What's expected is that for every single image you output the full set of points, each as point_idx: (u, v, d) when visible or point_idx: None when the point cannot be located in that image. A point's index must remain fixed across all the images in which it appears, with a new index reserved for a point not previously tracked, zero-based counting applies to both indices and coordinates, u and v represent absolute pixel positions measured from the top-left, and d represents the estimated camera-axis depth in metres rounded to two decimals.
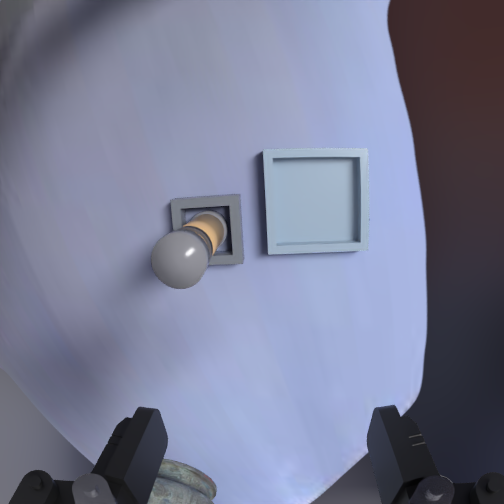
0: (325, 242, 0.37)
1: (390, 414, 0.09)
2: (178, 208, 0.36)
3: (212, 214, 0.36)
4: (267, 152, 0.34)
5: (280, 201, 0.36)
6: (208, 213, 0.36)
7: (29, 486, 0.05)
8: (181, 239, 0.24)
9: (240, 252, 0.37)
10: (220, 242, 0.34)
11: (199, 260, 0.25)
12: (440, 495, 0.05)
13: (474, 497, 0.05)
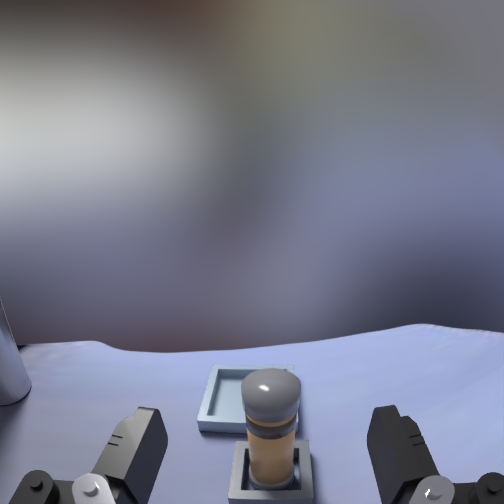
0: None
1: (390, 414, 0.09)
2: (239, 491, 0.23)
3: None
4: (200, 417, 0.34)
5: None
6: (250, 465, 0.27)
7: (29, 486, 0.05)
8: (247, 381, 0.23)
9: (296, 441, 0.29)
10: None
11: (269, 371, 0.25)
12: (440, 495, 0.05)
13: (474, 497, 0.05)
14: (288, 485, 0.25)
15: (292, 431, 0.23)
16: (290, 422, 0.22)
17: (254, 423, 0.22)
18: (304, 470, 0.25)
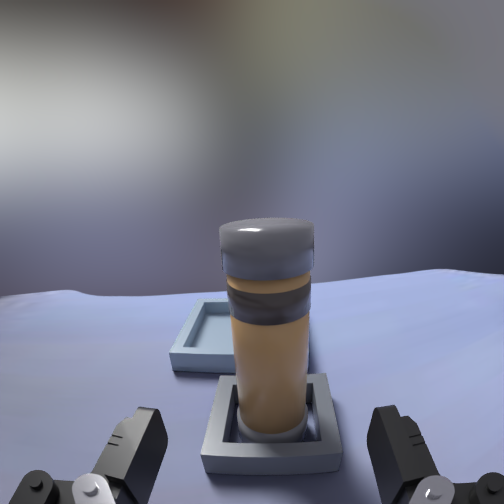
0: None
1: (390, 414, 0.09)
2: (220, 444, 0.16)
3: None
4: (174, 349, 0.26)
5: None
6: None
7: (29, 486, 0.05)
8: (230, 224, 0.16)
9: (308, 375, 0.22)
10: None
11: (265, 219, 0.17)
12: (440, 495, 0.05)
13: (474, 497, 0.05)
14: (299, 438, 0.17)
15: (305, 317, 0.15)
16: (301, 291, 0.15)
17: (241, 292, 0.15)
18: (323, 413, 0.18)
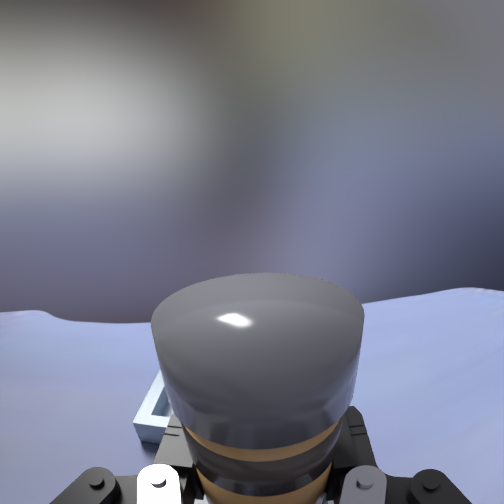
0: None
1: None
2: None
3: None
4: (140, 418, 0.18)
5: None
6: None
7: (87, 482, 0.06)
8: (182, 298, 0.07)
9: None
10: None
11: (257, 278, 0.09)
12: (369, 485, 0.06)
13: (412, 498, 0.05)
14: None
15: (328, 466, 0.07)
16: (327, 442, 0.06)
17: (202, 447, 0.06)
18: None
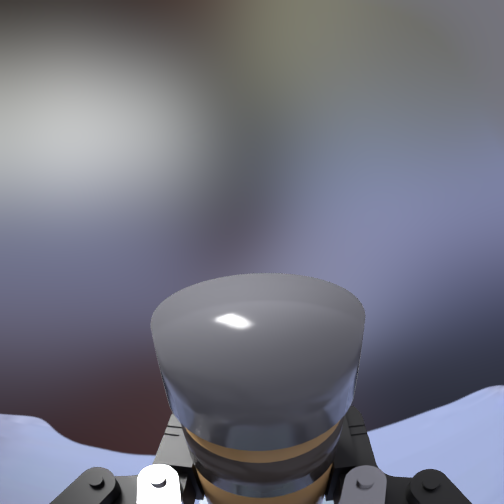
0: None
1: None
2: None
3: None
4: None
5: None
6: None
7: (87, 482, 0.06)
8: (181, 298, 0.07)
9: None
10: None
11: (257, 278, 0.09)
12: (369, 485, 0.06)
13: (412, 498, 0.05)
14: None
15: (328, 467, 0.07)
16: (327, 444, 0.06)
17: (202, 448, 0.06)
18: None
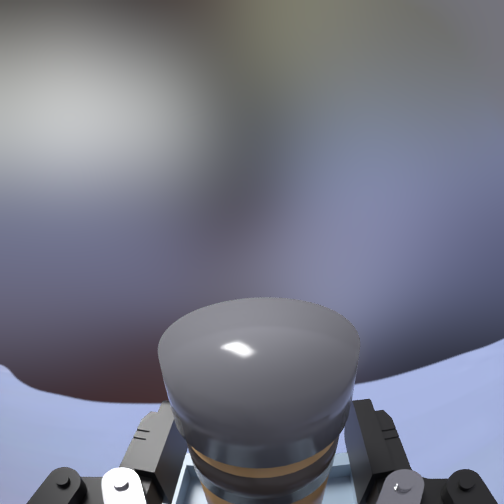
0: None
1: (364, 407, 0.09)
2: None
3: None
4: None
5: None
6: None
7: (55, 483, 0.06)
8: (186, 325, 0.08)
9: None
10: None
11: (258, 303, 0.09)
12: (408, 489, 0.06)
13: (446, 496, 0.05)
14: None
15: (324, 480, 0.07)
16: (323, 460, 0.06)
17: (207, 464, 0.06)
18: None
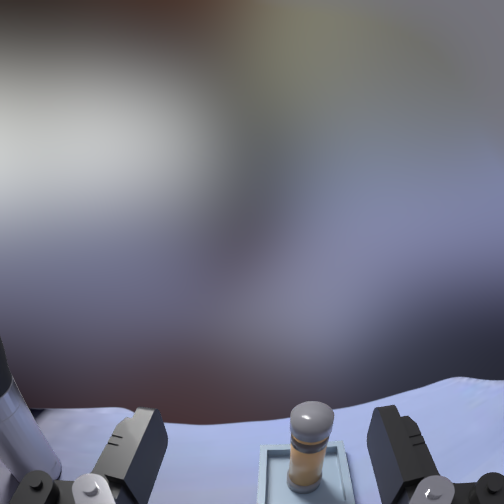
0: (340, 470, 0.33)
1: (390, 414, 0.09)
2: None
3: (289, 469, 0.33)
4: None
5: None
6: (288, 471, 0.33)
7: (29, 486, 0.05)
8: (294, 412, 0.30)
9: None
10: None
11: (310, 404, 0.31)
12: (440, 495, 0.05)
13: (474, 497, 0.05)
14: (317, 486, 0.31)
15: (325, 446, 0.29)
16: (325, 440, 0.29)
17: (300, 443, 0.28)
18: None
